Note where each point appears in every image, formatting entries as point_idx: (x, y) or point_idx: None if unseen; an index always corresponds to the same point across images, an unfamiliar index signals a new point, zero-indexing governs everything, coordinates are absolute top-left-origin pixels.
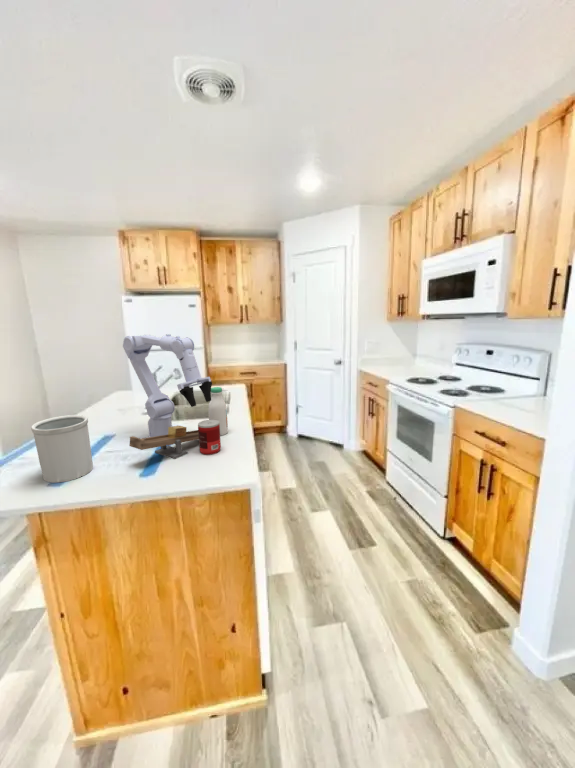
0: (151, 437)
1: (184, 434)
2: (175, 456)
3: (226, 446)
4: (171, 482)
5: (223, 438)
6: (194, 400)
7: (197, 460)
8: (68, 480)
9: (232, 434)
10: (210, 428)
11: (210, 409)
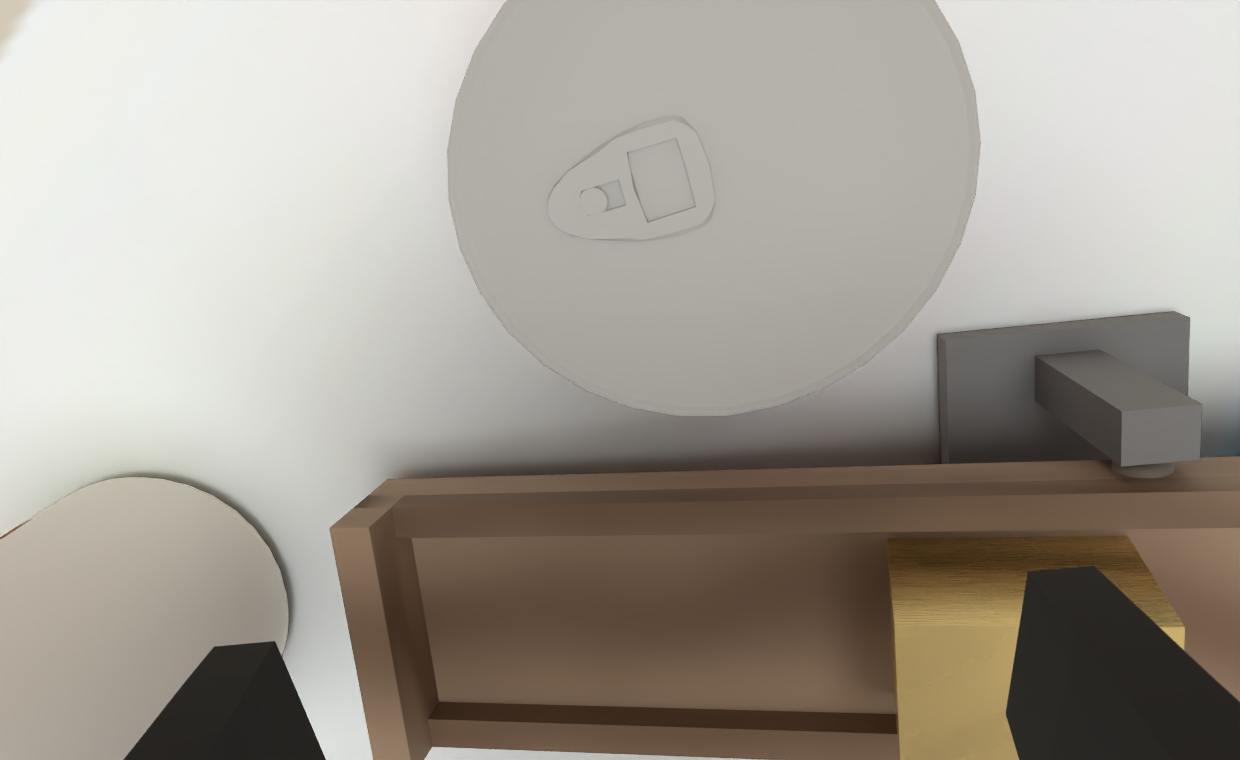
0: None
1: (927, 562)
2: (1168, 326)
3: (427, 78)
4: None
5: (251, 373)
6: (1184, 715)
7: (1037, 10)
8: None
9: (53, 391)
10: None
11: None
